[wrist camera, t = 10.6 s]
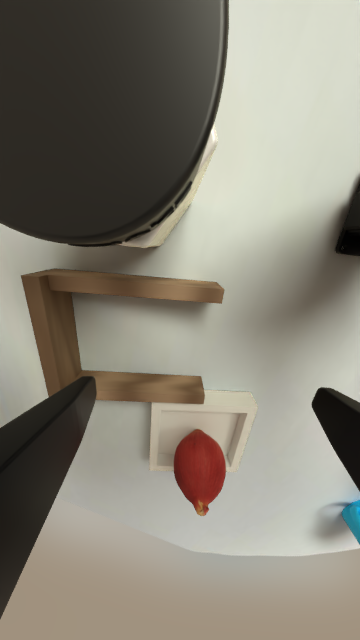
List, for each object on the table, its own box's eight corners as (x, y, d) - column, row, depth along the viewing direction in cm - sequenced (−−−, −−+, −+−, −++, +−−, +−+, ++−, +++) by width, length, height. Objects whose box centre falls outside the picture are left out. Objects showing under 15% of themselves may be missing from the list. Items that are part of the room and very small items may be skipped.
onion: (216, 445, 25) (226, 530, 18) (174, 441, 26) (168, 525, 18) (224, 418, 23) (239, 506, 16) (177, 414, 23) (171, 500, 16)
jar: (82, 236, 16) (-125, 218, 5) (76, 109, 13) (-504, -698, 2) (185, 252, 17) (207, 269, 6) (202, 136, 14) (325, -322, 3)
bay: (216, 282, 18) (227, 292, 14) (199, 384, 22) (204, 412, 19) (54, 268, 17) (20, 275, 13) (72, 378, 22) (50, 406, 18)
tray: (250, 392, 23) (258, 407, 21) (231, 454, 28) (236, 472, 26) (153, 387, 22) (151, 402, 20) (151, 452, 27) (148, 470, 25)
